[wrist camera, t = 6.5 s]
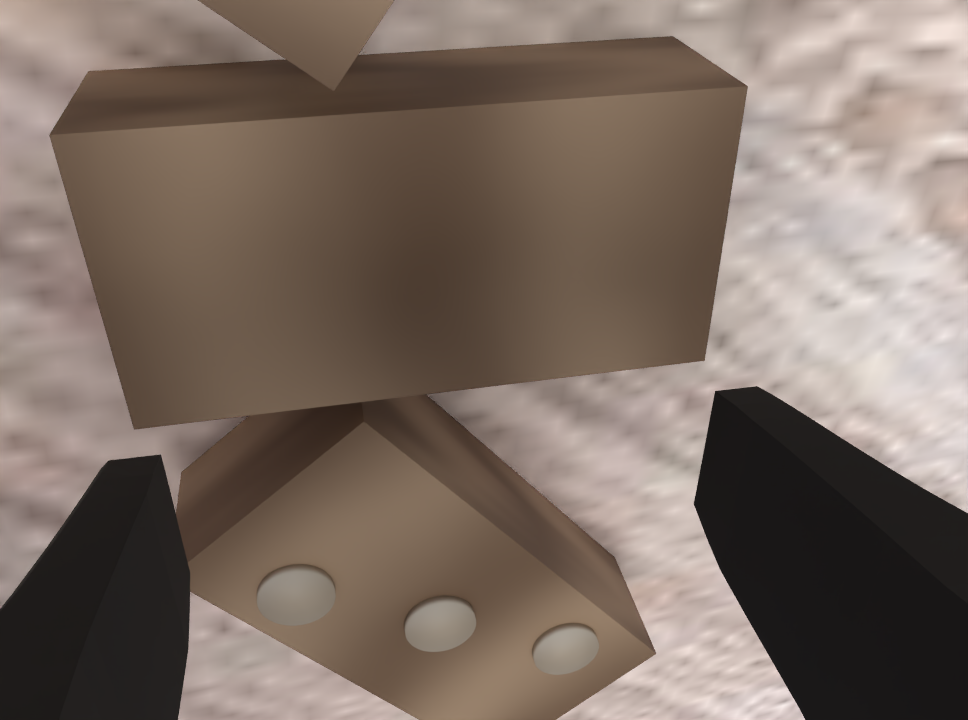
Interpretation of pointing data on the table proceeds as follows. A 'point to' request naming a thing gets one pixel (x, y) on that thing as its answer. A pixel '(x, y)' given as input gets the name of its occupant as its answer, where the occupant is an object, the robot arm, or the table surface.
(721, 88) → the plain block
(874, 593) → the robot arm
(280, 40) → the pip block five
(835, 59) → the table surface
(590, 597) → the pip block three
